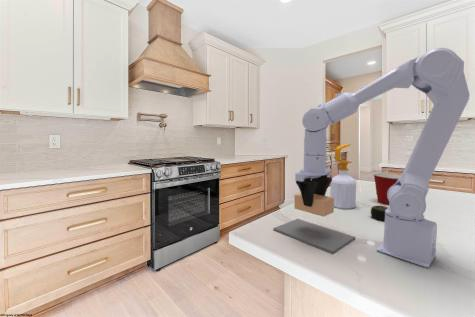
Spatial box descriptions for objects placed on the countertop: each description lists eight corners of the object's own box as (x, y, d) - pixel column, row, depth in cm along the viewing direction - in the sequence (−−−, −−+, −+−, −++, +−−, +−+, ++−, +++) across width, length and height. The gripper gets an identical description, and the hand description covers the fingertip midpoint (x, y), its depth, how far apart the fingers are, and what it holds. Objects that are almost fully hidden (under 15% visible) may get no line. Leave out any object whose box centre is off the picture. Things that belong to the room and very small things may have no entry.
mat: (355, 239, 59) (355, 236, 59) (332, 254, 52) (332, 251, 52) (297, 220, 73) (297, 218, 73) (273, 230, 66) (273, 228, 65)
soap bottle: (359, 209, 84) (362, 144, 82) (335, 209, 85) (337, 144, 82) (348, 202, 93) (350, 143, 91) (326, 202, 93) (328, 143, 91)
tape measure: (392, 224, 70) (392, 212, 70) (367, 218, 75) (368, 208, 74) (396, 219, 75) (397, 208, 74) (373, 214, 80) (374, 203, 79)
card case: (304, 204, 67) (304, 191, 67) (333, 212, 60) (333, 197, 60) (294, 208, 64) (294, 194, 64) (323, 216, 57) (324, 201, 57)
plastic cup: (404, 208, 85) (406, 177, 84) (371, 204, 91) (372, 175, 90) (401, 201, 95) (403, 173, 93) (371, 198, 100) (373, 171, 99)
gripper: (316, 153, 68) (314, 196, 70) (286, 155, 59) (285, 205, 60) (338, 154, 63) (337, 201, 64) (309, 157, 54) (308, 212, 55)
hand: (313, 203), depth 62 cm, fingers closed on card case, 5 cm apart
